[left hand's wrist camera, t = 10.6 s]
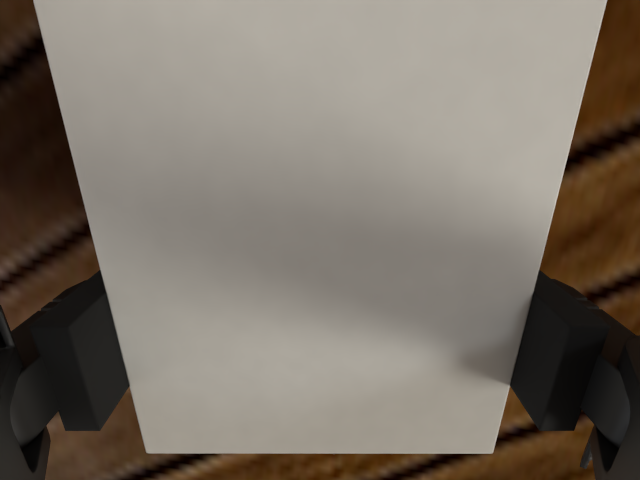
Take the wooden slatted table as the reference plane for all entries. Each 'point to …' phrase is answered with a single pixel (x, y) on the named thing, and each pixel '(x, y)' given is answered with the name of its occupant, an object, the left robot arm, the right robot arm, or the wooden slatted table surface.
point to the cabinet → (319, 207)
